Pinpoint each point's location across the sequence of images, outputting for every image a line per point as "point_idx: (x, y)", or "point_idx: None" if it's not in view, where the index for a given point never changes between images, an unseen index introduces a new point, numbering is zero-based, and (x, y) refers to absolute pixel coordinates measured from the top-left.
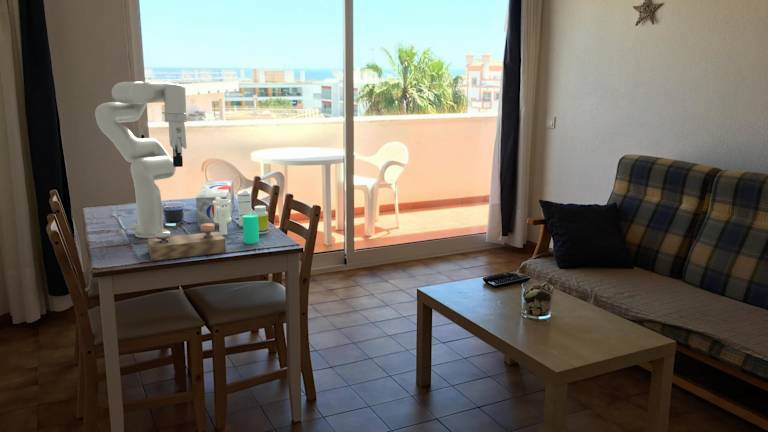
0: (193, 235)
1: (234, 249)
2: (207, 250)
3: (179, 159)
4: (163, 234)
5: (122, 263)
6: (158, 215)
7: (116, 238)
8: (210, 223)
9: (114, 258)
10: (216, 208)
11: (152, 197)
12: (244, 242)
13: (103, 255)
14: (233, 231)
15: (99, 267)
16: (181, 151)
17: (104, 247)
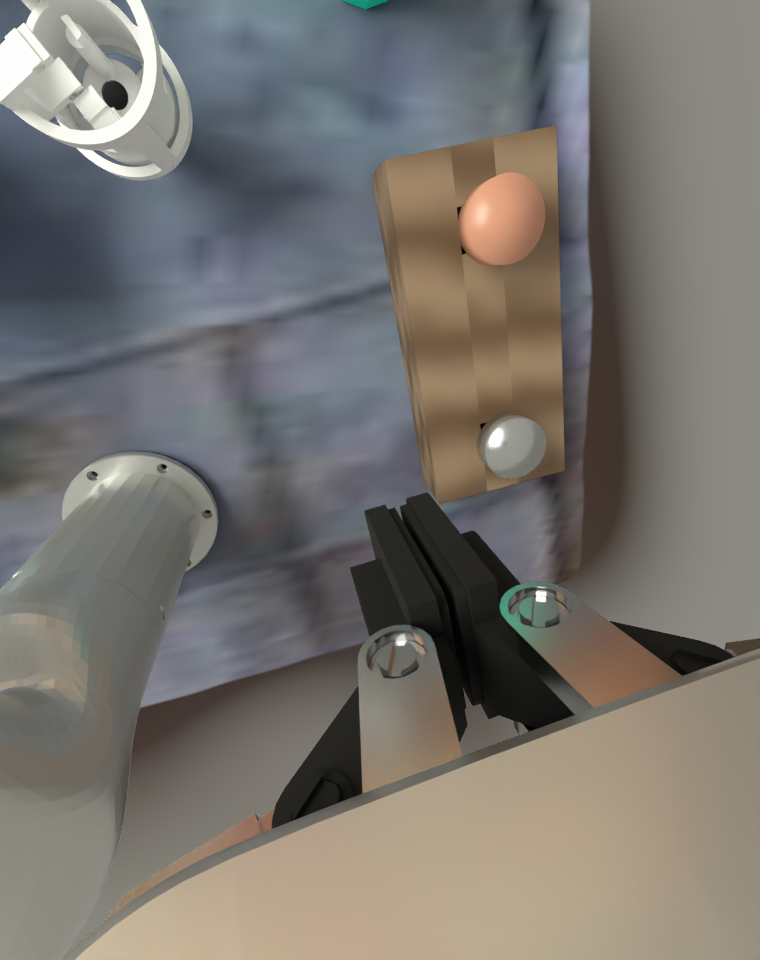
0: (436, 309)
1: (494, 90)
2: None
3: (511, 585)
4: (544, 442)
5: (532, 534)
6: (149, 523)
7: (199, 624)
8: (479, 199)
9: None
10: (148, 126)
11: (139, 609)
12: (378, 3)
13: None
14: None
15: None
16: (651, 660)
17: (325, 628)
